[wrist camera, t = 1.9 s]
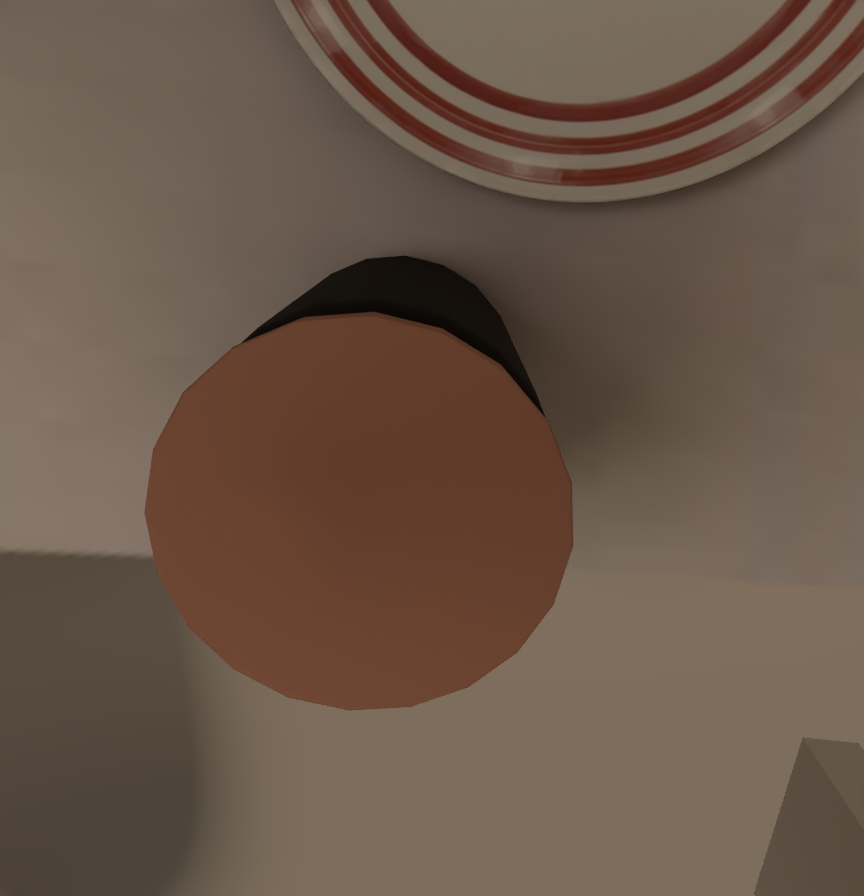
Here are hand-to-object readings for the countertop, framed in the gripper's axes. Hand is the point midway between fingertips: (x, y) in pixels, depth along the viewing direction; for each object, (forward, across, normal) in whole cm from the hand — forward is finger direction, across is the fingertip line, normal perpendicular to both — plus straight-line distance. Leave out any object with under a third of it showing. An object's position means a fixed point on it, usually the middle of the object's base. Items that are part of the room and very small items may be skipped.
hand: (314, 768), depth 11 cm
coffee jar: (+27, 0, 0) cm, 27 cm away
